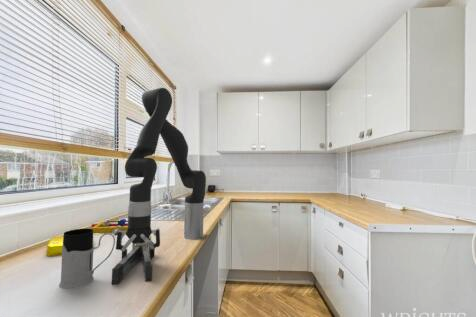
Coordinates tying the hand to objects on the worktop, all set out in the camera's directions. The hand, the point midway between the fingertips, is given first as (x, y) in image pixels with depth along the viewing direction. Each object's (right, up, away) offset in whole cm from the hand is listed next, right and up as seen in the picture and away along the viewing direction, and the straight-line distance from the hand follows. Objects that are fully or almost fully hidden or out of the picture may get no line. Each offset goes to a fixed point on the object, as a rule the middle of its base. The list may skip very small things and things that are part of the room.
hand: (138, 259), depth 84 cm
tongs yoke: (-2, -2, +8) cm, 9 cm away
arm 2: (+4, -2, -3) cm, 5 cm away
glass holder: (-11, -2, -11) cm, 16 cm away
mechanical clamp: (-30, -4, +44) cm, 54 cm away
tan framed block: (-2, -2, +8) cm, 9 cm away
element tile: (-35, -3, +17) cm, 39 cm away
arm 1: (-2, -2, -4) cm, 5 cm away
